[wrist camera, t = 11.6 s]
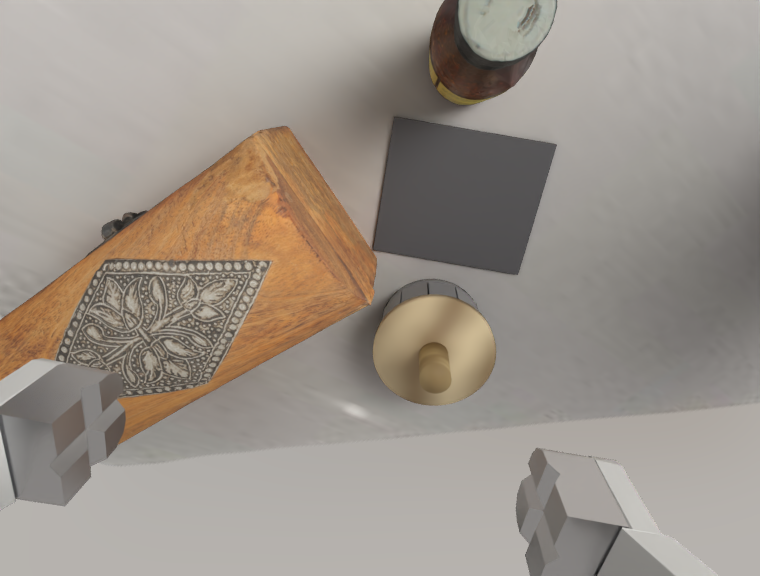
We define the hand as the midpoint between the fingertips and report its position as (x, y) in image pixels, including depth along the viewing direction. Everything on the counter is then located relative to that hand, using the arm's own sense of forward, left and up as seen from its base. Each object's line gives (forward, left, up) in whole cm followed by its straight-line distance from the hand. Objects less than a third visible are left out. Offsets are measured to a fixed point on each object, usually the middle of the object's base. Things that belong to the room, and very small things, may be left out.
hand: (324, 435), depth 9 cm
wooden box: (+16, +12, -35) cm, 40 cm away
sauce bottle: (-4, -10, -34) cm, 36 cm away
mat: (-6, +1, -34) cm, 35 cm away
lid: (-6, +14, -29) cm, 33 cm away
